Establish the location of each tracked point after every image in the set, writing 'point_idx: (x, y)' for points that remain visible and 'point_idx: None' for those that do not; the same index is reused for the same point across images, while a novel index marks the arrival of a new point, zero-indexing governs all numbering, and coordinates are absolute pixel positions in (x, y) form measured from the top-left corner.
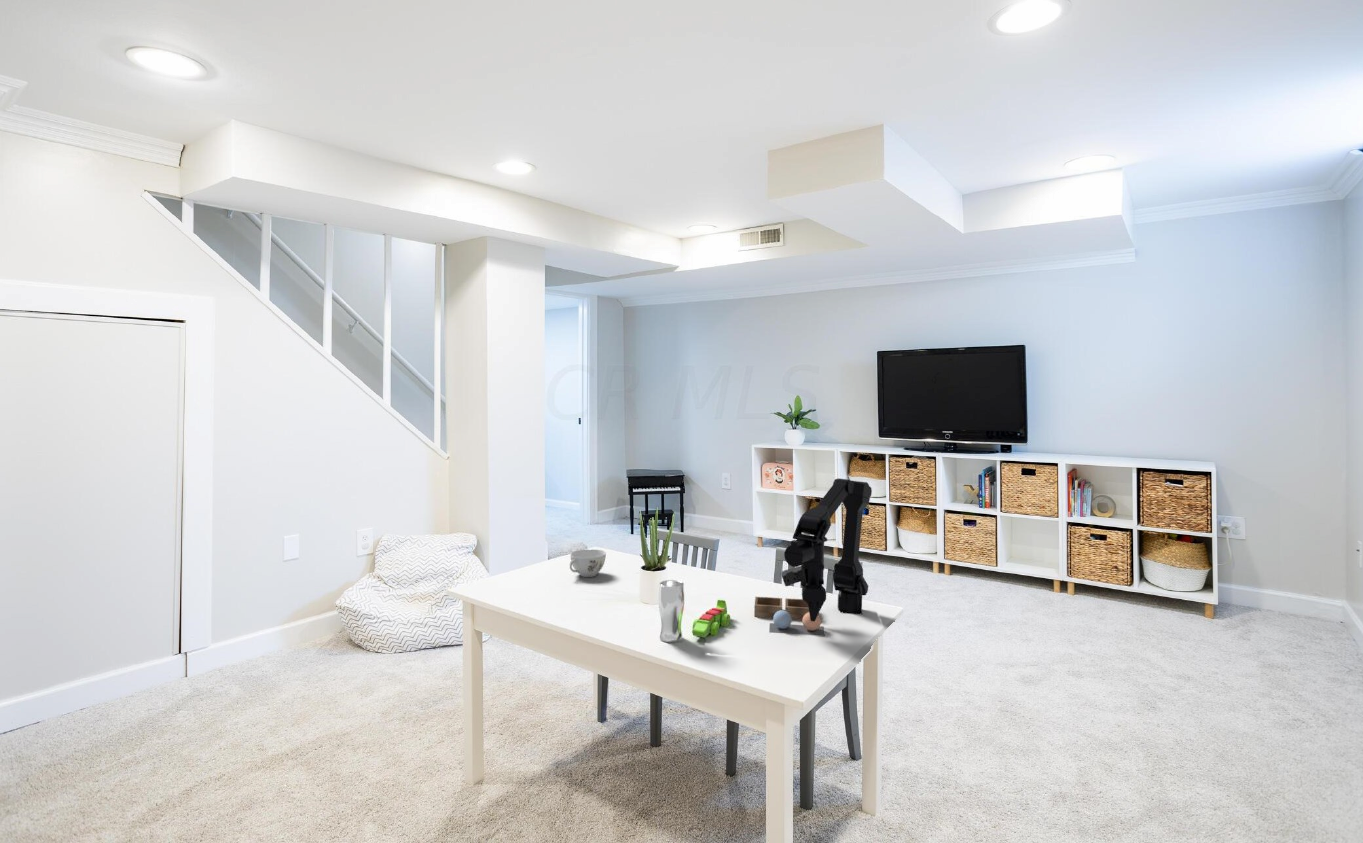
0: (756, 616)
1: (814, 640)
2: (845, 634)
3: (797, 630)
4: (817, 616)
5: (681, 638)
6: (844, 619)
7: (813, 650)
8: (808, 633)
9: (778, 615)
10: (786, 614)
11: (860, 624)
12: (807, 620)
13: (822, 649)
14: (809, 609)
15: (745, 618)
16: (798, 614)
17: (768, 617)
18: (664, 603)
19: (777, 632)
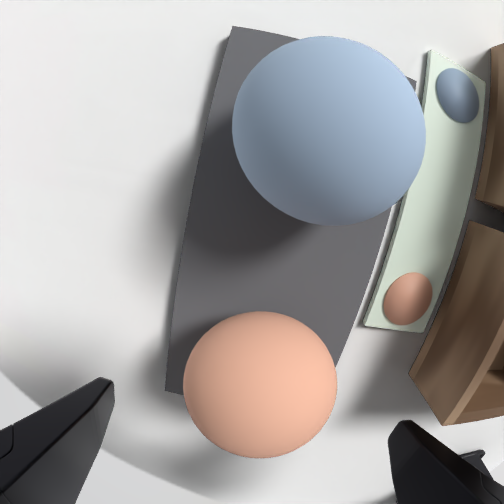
0: (498, 54)
1: (123, 318)
2: (223, 460)
3: (258, 249)
4: (222, 448)
5: None
6: (390, 470)
7: (7, 268)
8: (196, 312)
9: (288, 56)
10: (284, 156)
11: (327, 501)
12: (199, 361)
13: (25, 315)
14: (3, 432)
15: (485, 10)
16: (467, 315)
17: (495, 117)
18: None
19: (223, 81)
